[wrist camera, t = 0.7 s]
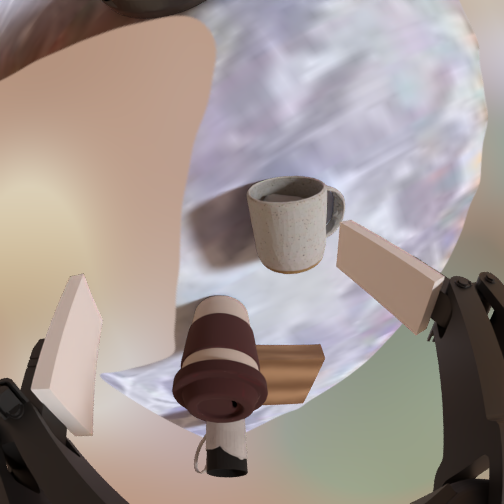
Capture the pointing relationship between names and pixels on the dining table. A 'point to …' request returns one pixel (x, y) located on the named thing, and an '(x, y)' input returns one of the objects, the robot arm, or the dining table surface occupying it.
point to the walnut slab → (289, 371)
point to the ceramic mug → (292, 221)
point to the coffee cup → (220, 364)
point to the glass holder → (224, 449)
